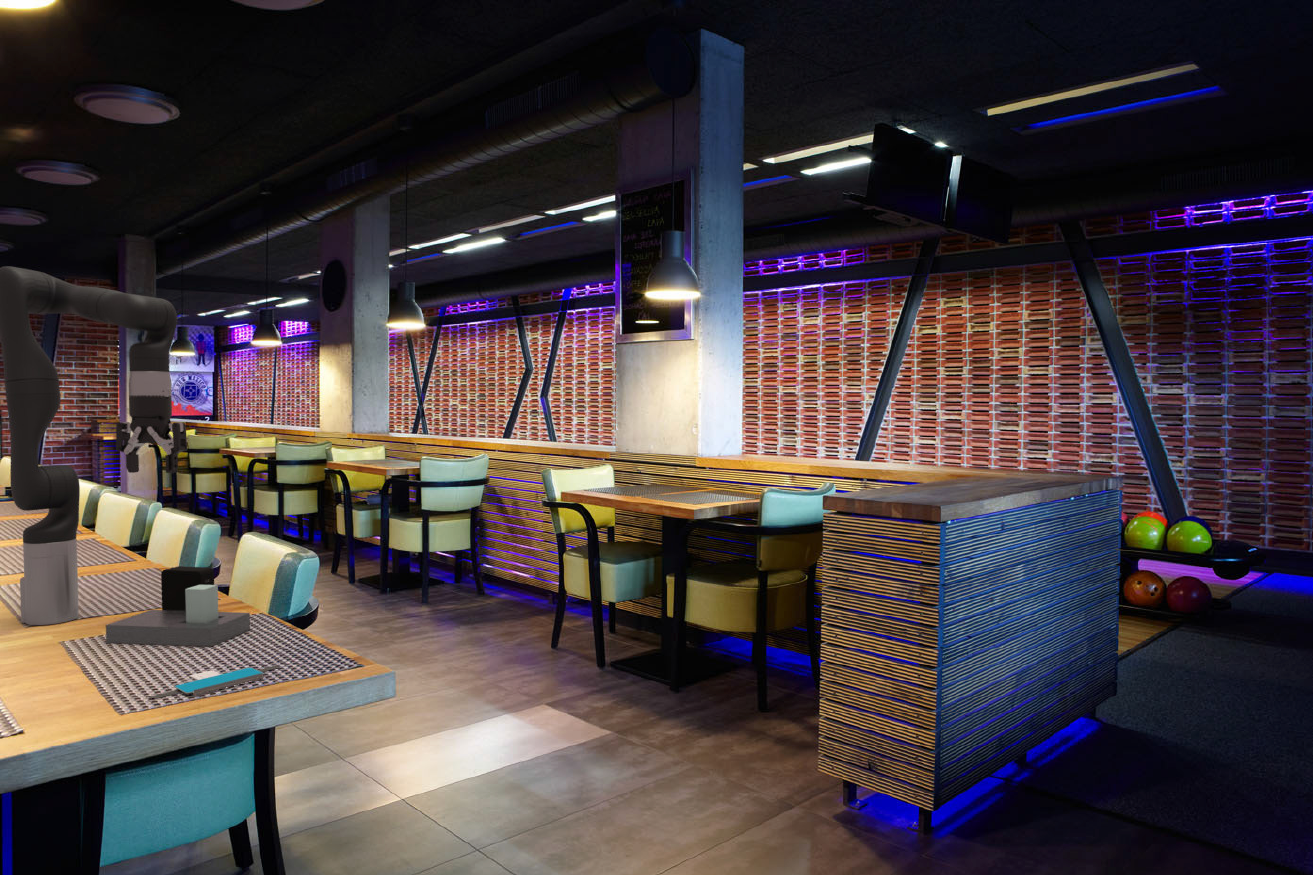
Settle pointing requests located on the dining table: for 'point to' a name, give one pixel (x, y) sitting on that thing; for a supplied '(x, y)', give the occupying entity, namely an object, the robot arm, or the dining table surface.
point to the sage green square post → (201, 604)
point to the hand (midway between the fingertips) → (152, 472)
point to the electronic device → (182, 584)
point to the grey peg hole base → (176, 629)
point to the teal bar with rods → (216, 681)
